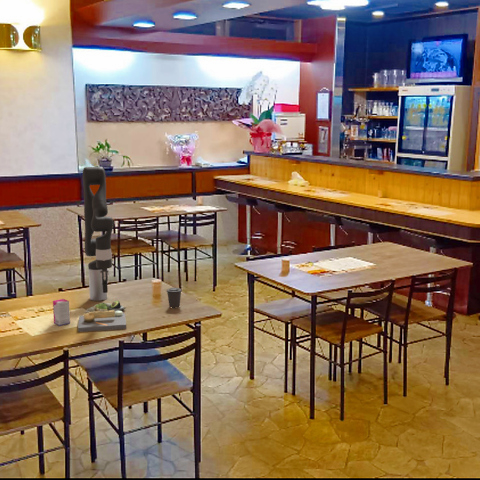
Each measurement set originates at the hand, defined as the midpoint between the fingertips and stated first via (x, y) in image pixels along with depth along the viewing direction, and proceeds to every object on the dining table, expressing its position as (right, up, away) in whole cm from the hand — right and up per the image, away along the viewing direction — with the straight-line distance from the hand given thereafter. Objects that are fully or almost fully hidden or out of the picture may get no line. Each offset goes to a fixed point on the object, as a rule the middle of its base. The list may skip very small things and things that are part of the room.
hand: (105, 292), depth 300 cm
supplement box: (-20, -15, -4) cm, 25 cm away
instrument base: (-1, -15, -4) cm, 16 cm away
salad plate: (-3, -11, +16) cm, 20 cm away
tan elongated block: (-2, -13, -5) cm, 14 cm away
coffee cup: (+31, -10, +23) cm, 40 cm away
